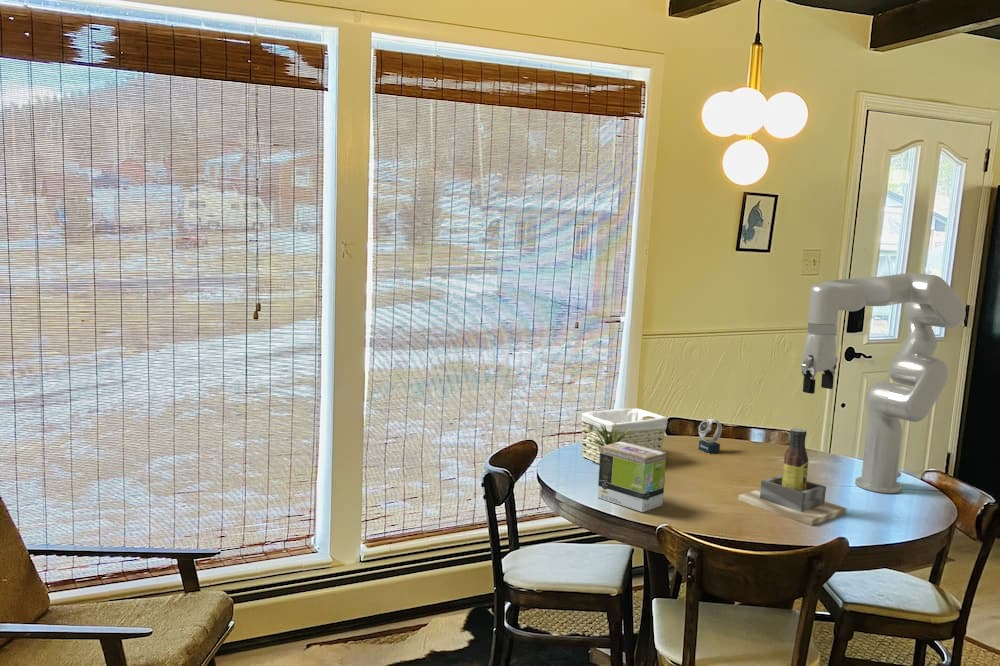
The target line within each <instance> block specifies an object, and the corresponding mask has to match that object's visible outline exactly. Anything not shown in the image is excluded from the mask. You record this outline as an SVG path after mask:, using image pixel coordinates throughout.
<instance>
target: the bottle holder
mask: <svg viewBox="0 0 1000 666" xmlns="http://www.w3.org/2000/svg"><path fill="white" fill-rule="evenodd" d="M782 475H783V474H781V475H777V476H775V477H773V476H772V477H770V478H767V479H763V480H761V482H760V489H759V488H758V489H756V490H755V489H754V490H753V491H748V492H745V493H741V494H738V499H737V500H738V501H739V502H741V503H745V504H747V503H748V505H751V506H753V507H757V508H760V509H762V510H765V511H768V512H771V513H774V514H778V515H780V516H783V517H785V518H788V519H792V520H794V521H797V522H800V523H803V524H806V525H809V526H811V527H812V526H815V525H817V524H820V523H823V522H826V521H829V520H832V519H835V518H837V517H841V516H843V515H846V514H845V513H847V507H844V506H841V505H839V504H835V503H832V502H829V501H827V500H826V490H827V486H825V485H821V484H818V483H815V482H811V481H808V480H807V482H806V490H805V491H802V492H801V491H797V490H794V489H791V488H788V487H785V486H782Z"/></svg>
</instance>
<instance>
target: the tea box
mask: <svg viewBox="0 0 1000 666" xmlns="http://www.w3.org/2000/svg"><path fill="white" fill-rule="evenodd" d="M666 460H667V452H665V451H663V450H661V451H658V450H654V449H650V448H646V447H642V446H639V445H634V444H630V443H626V442H622V441H621V442H617V443H613V444H608V445H604V446H601V450H600V464H599V467H598V468H599V470H598V481H597V482H598V484H597V485H598V486H597V498H598V499H601V500H603V501H604V500H605V501H606V502H607V501H608V502H610V503H613V504H617V505H620V506H623V507H624V508H625V507H626V508H629V509H632V510H635V511H638V512H640V513H644V512H647V511H650V510H653V509H656V508H659V507H662V506H663V504H664V503H663V502H664V494H665V493H664V491H665V481H666V479H665V478H666V477H665V476H666V464H667V463H666V462H667V461H666Z"/></svg>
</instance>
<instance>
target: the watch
mask: <svg viewBox="0 0 1000 666" xmlns="http://www.w3.org/2000/svg"><path fill="white" fill-rule="evenodd" d="M714 422H715V424H716V425H717V428H716V430H715V432H714V434H713V436H712V438H711V439H706V438H705V437H706V436H707V434H708V433H710V432H711V431H712V426H713V423H714ZM697 428H698V435H699V438H700V439H701V440H699V441H698V450H699V451H701V450H702V451H701V452H703V451H704V453H705V452H706V454H707V453H716V454H720V449H721V443H718V440H719V439H720V437H721V435H722V432H723V427H722V424H721V422H720V421H719V420H717V419H714V418H707V419H705V420H702V421H701V422H700V423H699V424H698V427H697Z"/></svg>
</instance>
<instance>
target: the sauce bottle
mask: <svg viewBox="0 0 1000 666" xmlns="http://www.w3.org/2000/svg"><path fill="white" fill-rule="evenodd" d="M789 434H790V442H789V447H788V448H787V449H786V450H785V453H784V460H783V465H782V474H781V475H782V486H785V487H788V488H791V489H794V490H797V491H801V492H802V491H805V490H806V482H807V481H808V469H809V457H808V453H807V450H806V437H807V430H806V429H803V428H790V433H789Z"/></svg>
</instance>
